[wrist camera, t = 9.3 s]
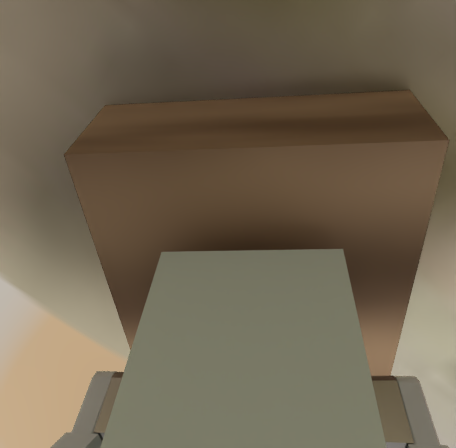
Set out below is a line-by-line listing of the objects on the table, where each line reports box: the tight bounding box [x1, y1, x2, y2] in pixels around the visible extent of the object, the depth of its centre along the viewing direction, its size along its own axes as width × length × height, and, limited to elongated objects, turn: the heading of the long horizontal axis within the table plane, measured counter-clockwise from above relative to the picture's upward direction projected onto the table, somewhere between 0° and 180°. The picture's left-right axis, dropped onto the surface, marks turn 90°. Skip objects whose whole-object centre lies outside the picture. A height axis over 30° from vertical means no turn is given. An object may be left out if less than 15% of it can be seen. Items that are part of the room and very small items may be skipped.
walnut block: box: [64, 90, 449, 376], centre depth 16 cm, size 10×10×4 cm
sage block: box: [100, 249, 387, 448], centre depth 10 cm, size 5×5×7 cm
